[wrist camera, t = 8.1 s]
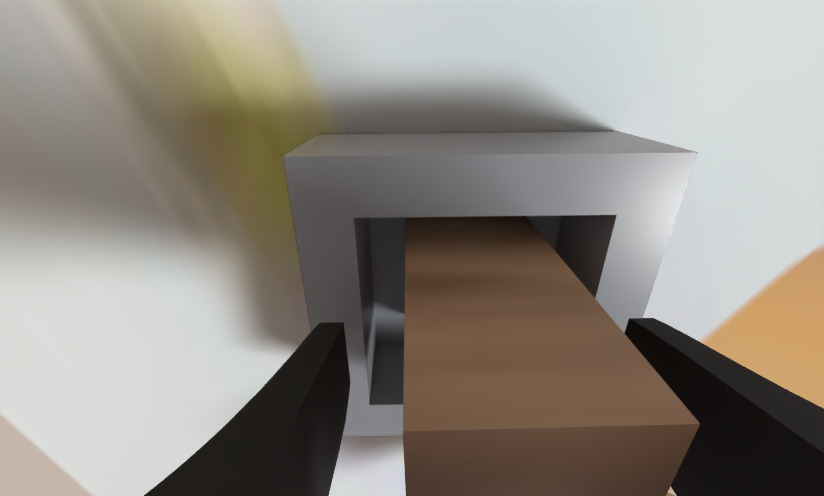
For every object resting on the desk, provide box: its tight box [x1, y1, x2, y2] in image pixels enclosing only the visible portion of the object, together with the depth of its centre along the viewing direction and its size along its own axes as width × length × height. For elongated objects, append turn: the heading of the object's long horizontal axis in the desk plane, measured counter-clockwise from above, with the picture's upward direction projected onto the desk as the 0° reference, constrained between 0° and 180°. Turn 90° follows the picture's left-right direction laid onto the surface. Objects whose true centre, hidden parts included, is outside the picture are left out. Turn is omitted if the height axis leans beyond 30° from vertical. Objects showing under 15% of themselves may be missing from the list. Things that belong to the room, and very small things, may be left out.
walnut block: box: [403, 216, 700, 496], centre depth 9 cm, size 4×4×8 cm
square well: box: [283, 131, 698, 436], centre depth 12 cm, size 10×10×4 cm
